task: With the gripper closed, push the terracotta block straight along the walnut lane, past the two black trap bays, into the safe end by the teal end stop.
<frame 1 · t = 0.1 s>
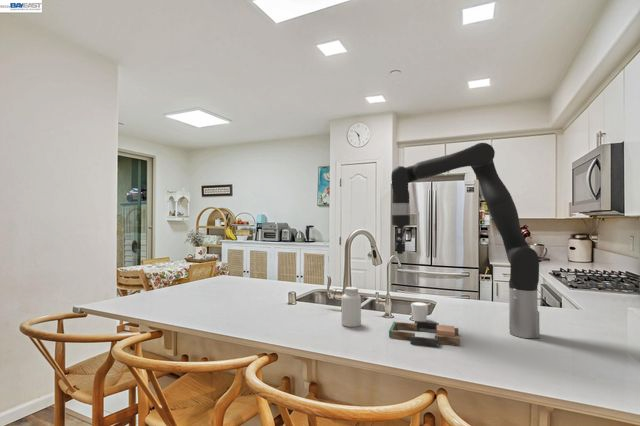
hand: (401, 252, 145), 29 cm above the counter, tool pointing down, fingers open, 8 cm apart
pill bottle: (351, 325, 142), on the counter
white tapered cylinder: (419, 320, 148), on the counter
trap lane: (424, 336, 127), on the counter
terracotta block: (445, 339, 125), on the counter
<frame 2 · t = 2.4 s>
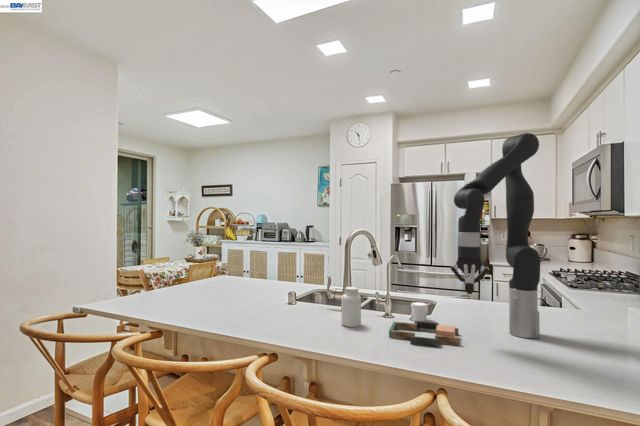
hand: (469, 293, 122), 17 cm above the counter, tool pointing down, fingers closed
nothing on the counter moved.
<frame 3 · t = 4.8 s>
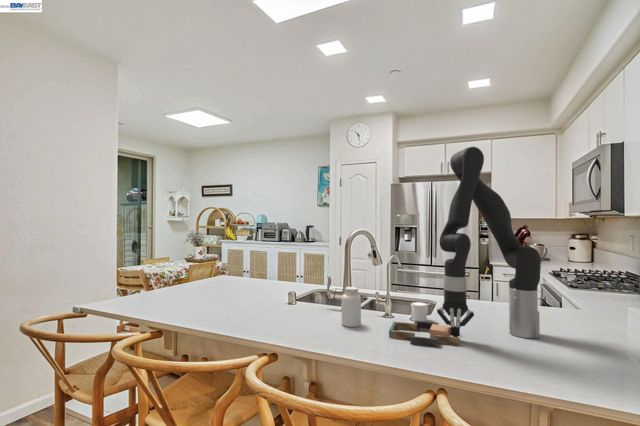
hand: (455, 336, 124), 1 cm above the counter, tool pointing down, fingers closed
terracotta block: (439, 338, 125), on the counter, touching gripper
everything else where it was.
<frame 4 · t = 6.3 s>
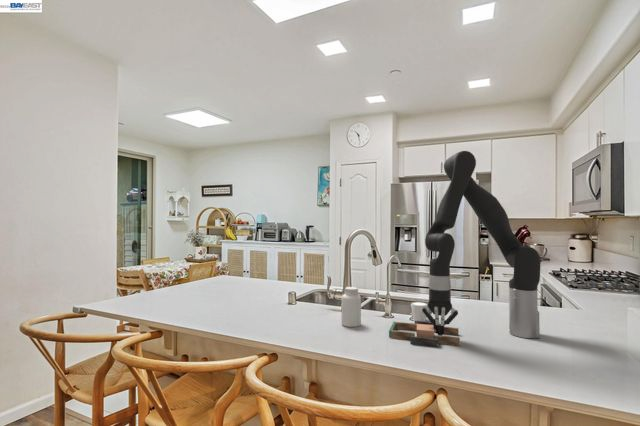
hand: (439, 334, 125), 1 cm above the counter, tool pointing down, fingers closed
terracotta block: (425, 338, 126), on the counter
everything else where it was.
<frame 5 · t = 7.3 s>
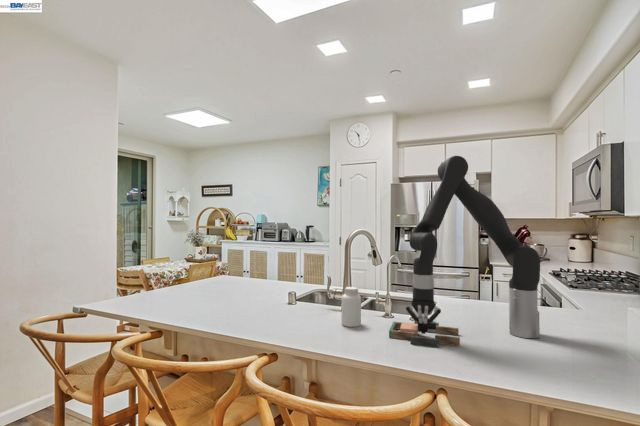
hand: (423, 333, 127), 1 cm above the counter, tool pointing down, fingers closed
terracotta block: (409, 336, 128), on the counter
everything else where it was.
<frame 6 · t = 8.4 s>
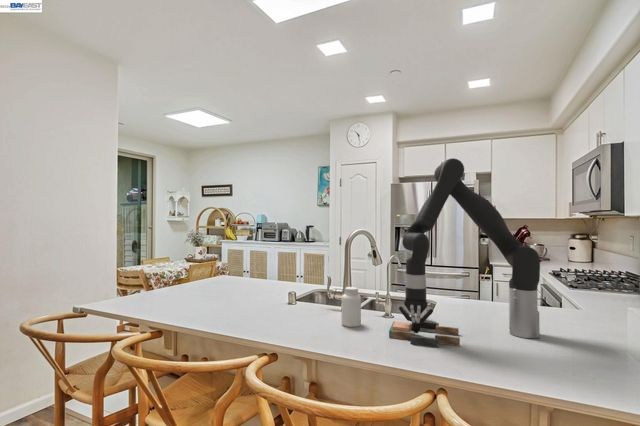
hand: (416, 332, 128), 1 cm above the counter, tool pointing down, fingers closed
terracotta block: (401, 335, 130), on the counter, touching trap lane
everything else where it was.
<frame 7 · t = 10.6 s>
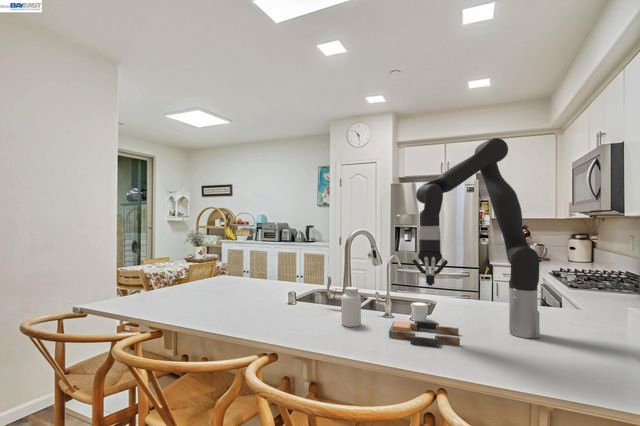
hand: (430, 285, 127), 19 cm above the counter, tool pointing down, fingers closed
terracotta block: (402, 334, 130), on the counter
everything else where it was.
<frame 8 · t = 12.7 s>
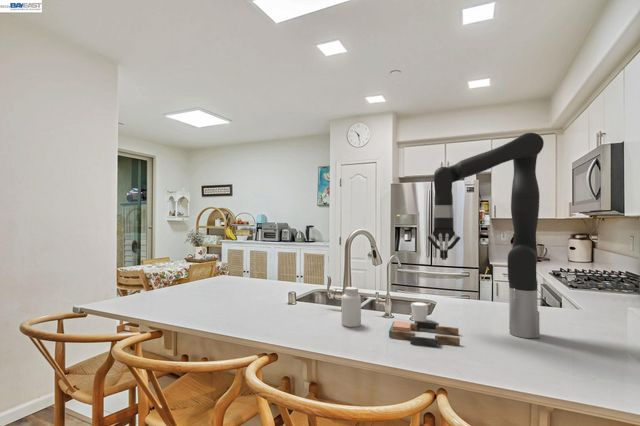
hand: (443, 259, 139), 27 cm above the counter, tool pointing down, fingers closed
nothing on the counter moved.
at the end: terracotta block 0.7 cm from the target spot, on the counter; terracotta block tilted 0°; the gripper is holding nothing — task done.
